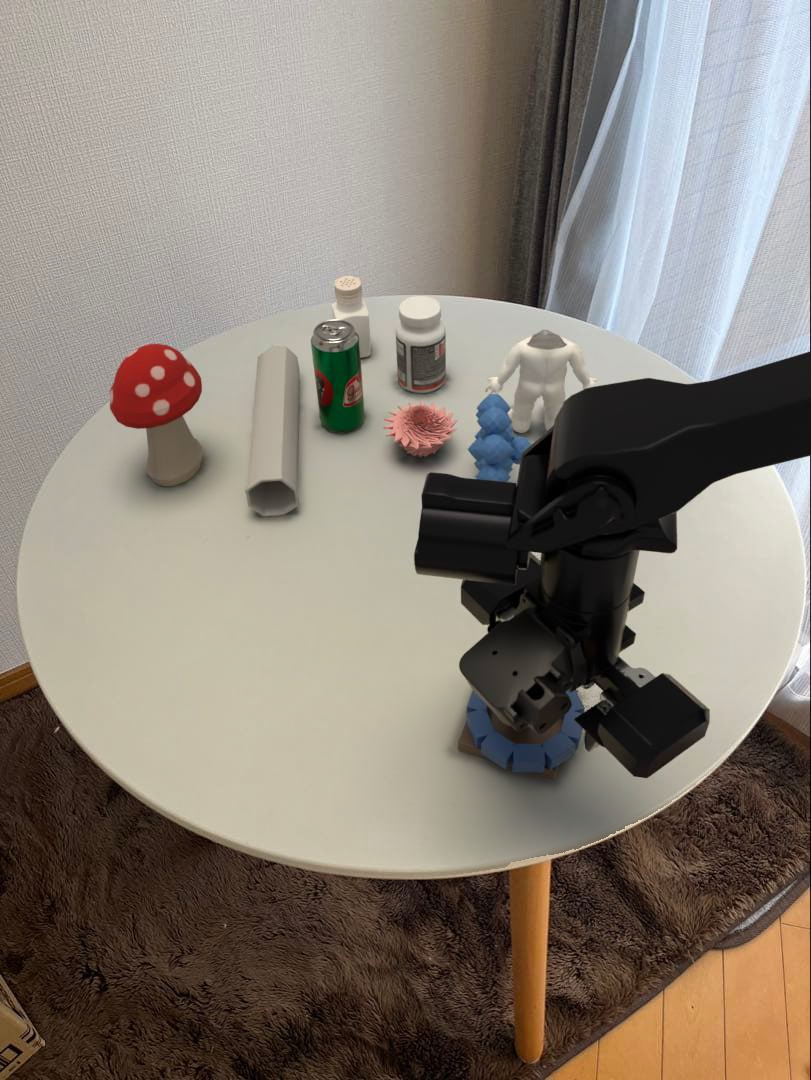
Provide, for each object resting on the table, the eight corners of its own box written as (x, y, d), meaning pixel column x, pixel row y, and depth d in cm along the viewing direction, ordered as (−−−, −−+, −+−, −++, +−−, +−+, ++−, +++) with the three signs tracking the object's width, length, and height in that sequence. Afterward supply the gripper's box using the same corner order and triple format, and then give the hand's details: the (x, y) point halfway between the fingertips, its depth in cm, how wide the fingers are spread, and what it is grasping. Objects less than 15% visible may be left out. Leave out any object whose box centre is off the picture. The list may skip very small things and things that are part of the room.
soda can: (355, 439, 100) (347, 348, 91) (313, 430, 101) (301, 339, 92) (371, 411, 103) (365, 321, 94) (330, 403, 104) (320, 313, 95)
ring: (592, 690, 75) (595, 679, 74) (567, 788, 69) (569, 778, 68) (486, 661, 77) (487, 650, 76) (452, 753, 71) (453, 743, 70)
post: (576, 698, 76) (588, 639, 70) (554, 779, 71) (565, 723, 65) (485, 672, 78) (489, 613, 72) (457, 750, 73) (459, 693, 67)
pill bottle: (453, 373, 108) (454, 300, 100) (433, 399, 104) (433, 326, 97) (410, 361, 109) (408, 289, 102) (389, 387, 106) (385, 314, 99)
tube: (248, 345, 106) (235, 488, 89) (289, 329, 105) (285, 471, 87) (268, 379, 110) (260, 523, 92) (308, 365, 108) (307, 508, 91)
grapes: (534, 535, 89) (544, 442, 80) (465, 533, 89) (468, 441, 81) (529, 457, 97) (538, 365, 88) (466, 456, 97) (469, 364, 89)
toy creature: (588, 409, 102) (602, 318, 94) (593, 443, 98) (608, 351, 89) (482, 408, 103) (486, 317, 94) (483, 442, 99) (487, 351, 90)
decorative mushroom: (173, 430, 102) (142, 315, 91) (236, 452, 99) (211, 336, 88) (116, 484, 96) (75, 368, 85) (181, 509, 93) (147, 392, 82)
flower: (448, 479, 95) (449, 438, 91) (375, 468, 96) (373, 428, 92) (463, 431, 100) (464, 391, 96) (393, 422, 101) (391, 382, 97)
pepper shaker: (372, 358, 110) (367, 289, 103) (340, 363, 110) (333, 294, 103) (365, 340, 113) (361, 271, 106) (334, 344, 112) (327, 276, 105)
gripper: (393, 549, 58) (405, 691, 69) (593, 752, 47) (569, 882, 58) (526, 480, 62) (517, 624, 73) (738, 651, 51) (690, 790, 62)
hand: (565, 721), depth 67 cm, fingers open, 5 cm apart
